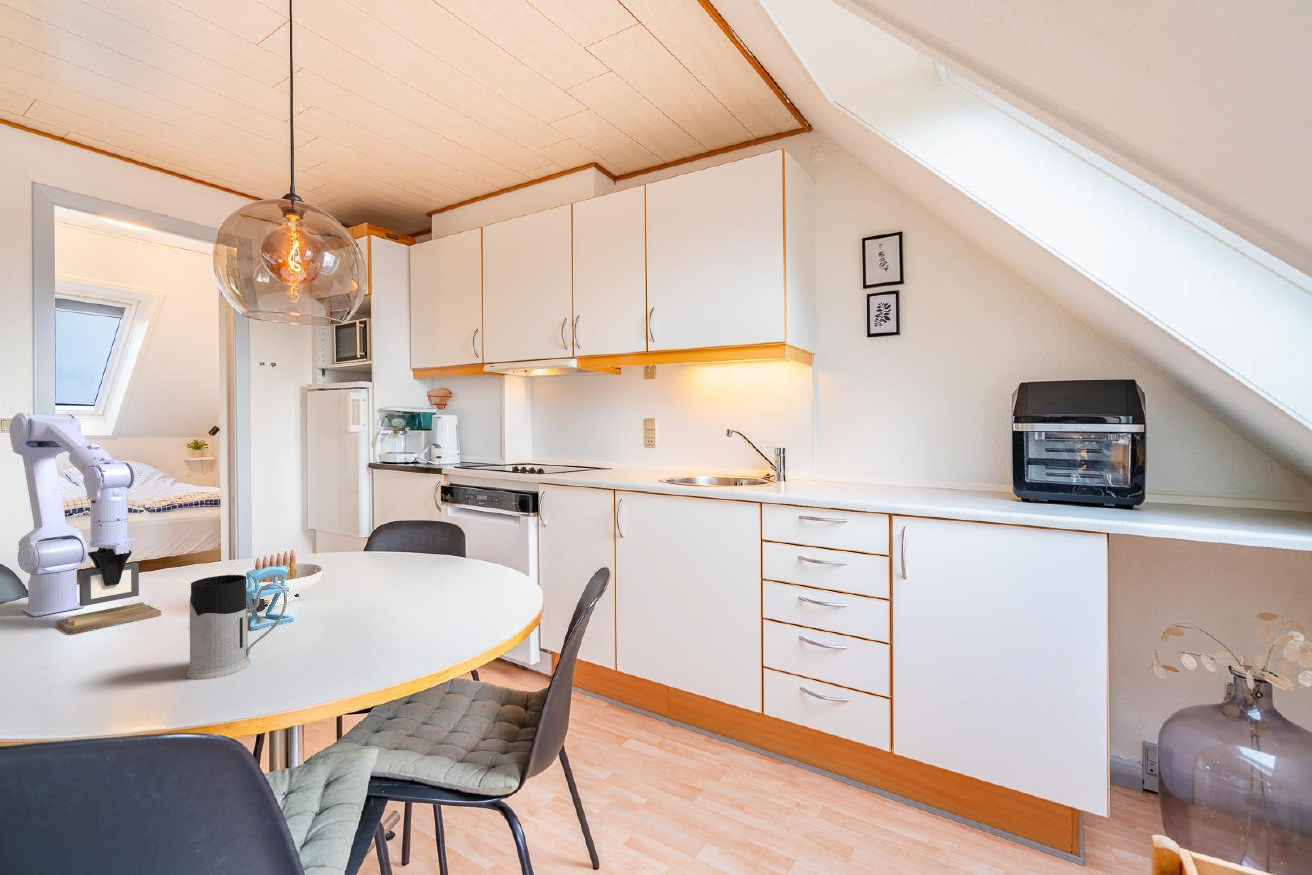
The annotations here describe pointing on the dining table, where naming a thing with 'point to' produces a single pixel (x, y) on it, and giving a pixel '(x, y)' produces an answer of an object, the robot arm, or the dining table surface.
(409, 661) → the dining table surface
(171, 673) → the dining table surface
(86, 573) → the grey upright slab
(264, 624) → the chair
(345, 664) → the dining table surface
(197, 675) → the glass holder
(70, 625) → the board
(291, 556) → the ammunition clip
